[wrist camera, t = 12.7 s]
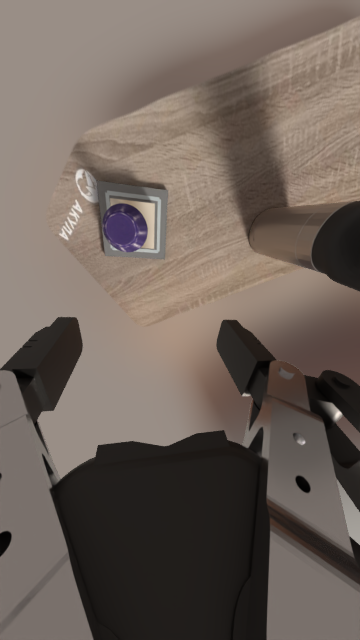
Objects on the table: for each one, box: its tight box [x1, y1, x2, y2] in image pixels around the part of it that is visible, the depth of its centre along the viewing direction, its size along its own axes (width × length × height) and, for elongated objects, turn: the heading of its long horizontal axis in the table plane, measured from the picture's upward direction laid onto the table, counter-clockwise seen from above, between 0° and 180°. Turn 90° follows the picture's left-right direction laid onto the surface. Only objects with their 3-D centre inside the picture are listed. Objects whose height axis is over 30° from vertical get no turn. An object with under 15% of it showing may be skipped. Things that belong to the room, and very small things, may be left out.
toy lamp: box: [102, 203, 148, 252], centre depth 23 cm, size 5×5×17 cm
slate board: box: [97, 181, 168, 259], centre depth 34 cm, size 12×12×1 cm
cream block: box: [110, 198, 155, 249], centre depth 31 cm, size 7×7×4 cm
